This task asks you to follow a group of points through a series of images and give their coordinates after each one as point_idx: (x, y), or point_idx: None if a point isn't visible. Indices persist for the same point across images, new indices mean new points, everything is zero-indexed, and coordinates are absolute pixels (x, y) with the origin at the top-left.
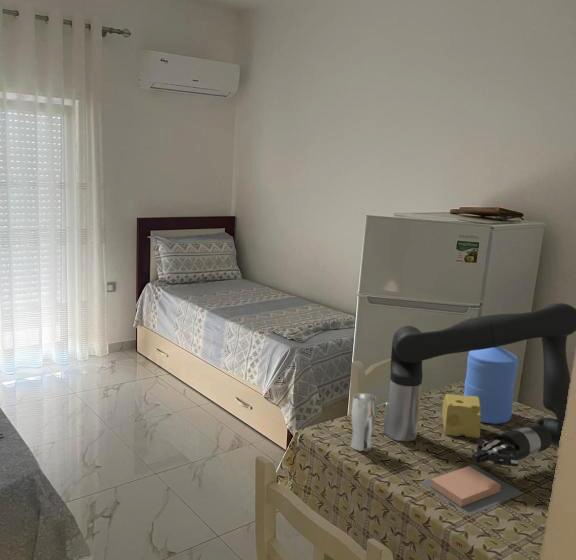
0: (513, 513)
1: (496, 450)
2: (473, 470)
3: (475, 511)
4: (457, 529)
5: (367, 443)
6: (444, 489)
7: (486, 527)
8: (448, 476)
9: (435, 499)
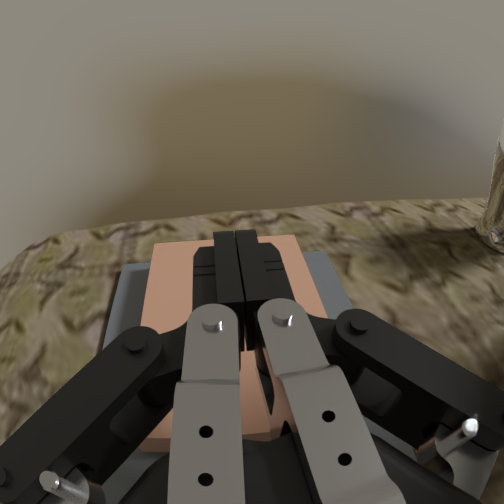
0: (45, 389)
1: (181, 380)
2: None
3: (122, 286)
4: (119, 232)
5: (488, 223)
6: None
7: (74, 279)
8: (294, 281)
9: None
